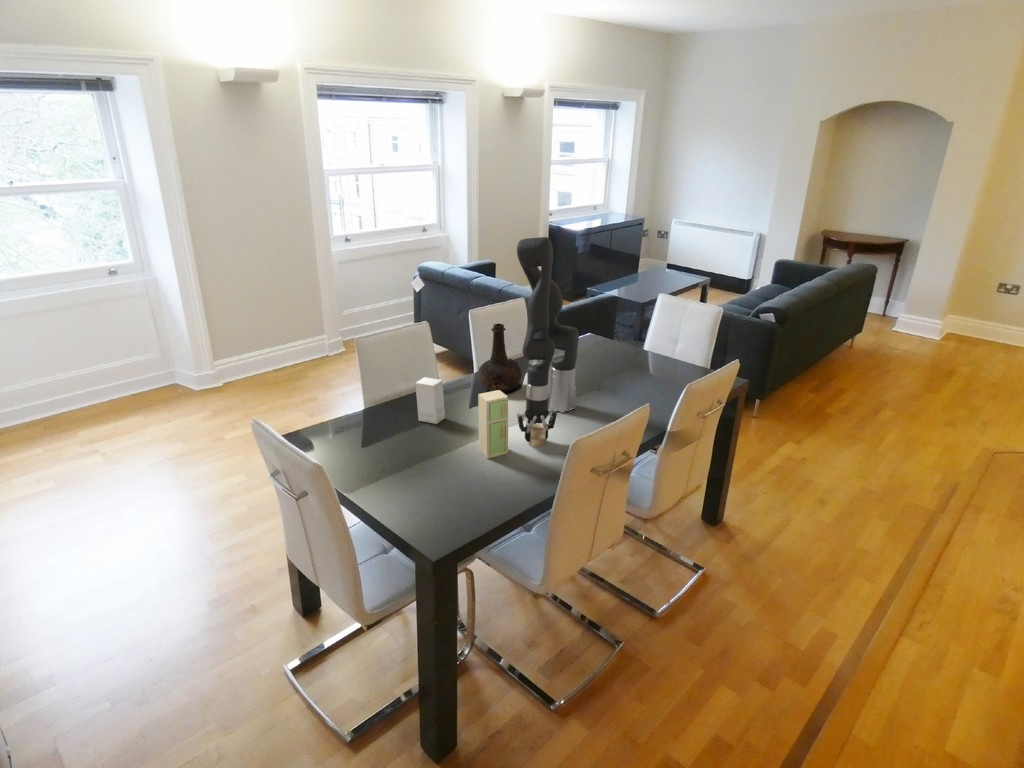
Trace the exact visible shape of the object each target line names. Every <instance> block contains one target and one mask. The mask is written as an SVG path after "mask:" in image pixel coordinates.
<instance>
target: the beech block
mask: <svg viewBox="0 0 1024 768" xmlns="http://www.w3.org/2000/svg"><path fill="white" fill-rule="evenodd" d="M545 435H546V429H545V428H544V426H543V425H542V423H536V424H533V426H532V428H531V429H530V442H528V443H529V445H530V447H531V448H532V447H542V446H546V440H545Z"/></svg>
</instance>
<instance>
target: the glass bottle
mask: <svg viewBox="0 0 1024 768" xmlns="http://www.w3.org/2000/svg"><path fill="white" fill-rule="evenodd" d="M490 330H491V332H492V333H493V334H492V346H491V347H492V349H491V356H490V359H488V360H485V362H483V363H482V364H481V365H480V367H479V368H478V372H477V375H478V376H477V377H478V380H479V383H480V384H481V386H483V388H485V389H487V391H489V392H491V391H496V390H500V391H501V392H503V393H507V392H510V391H512V390H514V389H515V388H516V387H517V386H518V385H519V384H520V382H521V380H522V370H521V368H520V366H519V363H518V362H517V361H515V360H514V359H512V358H508V354H507V350H506V343H505V331H506V330H507V328H505V325H504V323H493V325H492V328H491V329H490Z"/></svg>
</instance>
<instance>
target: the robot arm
mask: <svg viewBox="0 0 1024 768" xmlns="http://www.w3.org/2000/svg"><path fill="white" fill-rule="evenodd" d="M516 253H517V260H518V261H519V264H520V266H521V268H522V271H523V272H524V275H525V277H526V279H527V281H528V284H529V286H530V289H531V291H532V292H531V295H530V296H529V299H528V302H527V307H526V314H527V315H526V317H527V321H526V323H527V325H526V333H525V336H524V337H525V338H524V341H523V345H522V349H521V350H522V355H523V357H524V358H525V359H526V360H527V361H528V360H529V361H540V362H538V363H535V364H532V365H530V366H528V368H527V384H526V388H525V389H526V390H525V391H526V395H525V397H526V398H525V399H526V400H525V411H524V412H523V413H517V414H516V418H517V423H518V428H519V430H520V431H521V432H524V439H525V441H526V442H527V443H529V442H530V429H531V428H532V426H533V424H542V425H543V426H544V428H545V429H546V435H545V441H547V439H548V438H549V430H551V429H554V428H555V424H556V418H557V416H558V412H556V411H554V410H557V411H567V410H570V409H572V408H575V409H576V397H577V386H576V385H575V383H576V382H575V381H576V363H577V359H578V350H579V348H578V347H579V341H580V340H579V339H580V336H579V335H580V334H579V330H578V328H576V327H573V326H568V325H563V324H560V323H559V322H558V316H559V314H560V313H561V312H562V311H561V310H562V308H563V306H564V299H563V295H562V294H561V289H560V287H559V285H558V284H557V283H556V282H555V280H553V279H552V272H553V263H554V247H553V243H552V240H551V239H550V238H549V237H547V236H540V237H530V238H523V239H520V240H519V241H518V242H517V244H516ZM539 267H540V268H539ZM539 332H545V337H544V338H543V337H542V338H541V337H540V338H534V337H535V335H536V334H537V333H539ZM556 350H560V351H564V354H563V355H559V356H556V357H554V355H555V351H556ZM549 372H550V373H549ZM549 374H550V387H549ZM549 388H550V389H549ZM550 408H551V409H553V410H551V409H550ZM549 409H550V410H549ZM548 416H549V420H548V423H547V421H546V419H547V418H548ZM525 418H526V419H527V420H526V423H525V425H524V420H525Z"/></svg>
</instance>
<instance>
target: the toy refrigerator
mask: <svg viewBox="0 0 1024 768" xmlns="http://www.w3.org/2000/svg"><path fill="white" fill-rule="evenodd" d="M477 397H478V399H477V400H478V403H477V404H478V405H477V406H478V407H477V408H478V409H477V410H478V447H479V448H478V449H479V452H480V453H481V454H482V456H484V457H485V458H486V459H492V458H497V457H500V456H503V455H504V456H505V455H508V454H509V396H508V395H507V394H506V393H505V392H501V391H500V390H496V391H488V392H487V391H486V392H482V393H478V394H477Z"/></svg>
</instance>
